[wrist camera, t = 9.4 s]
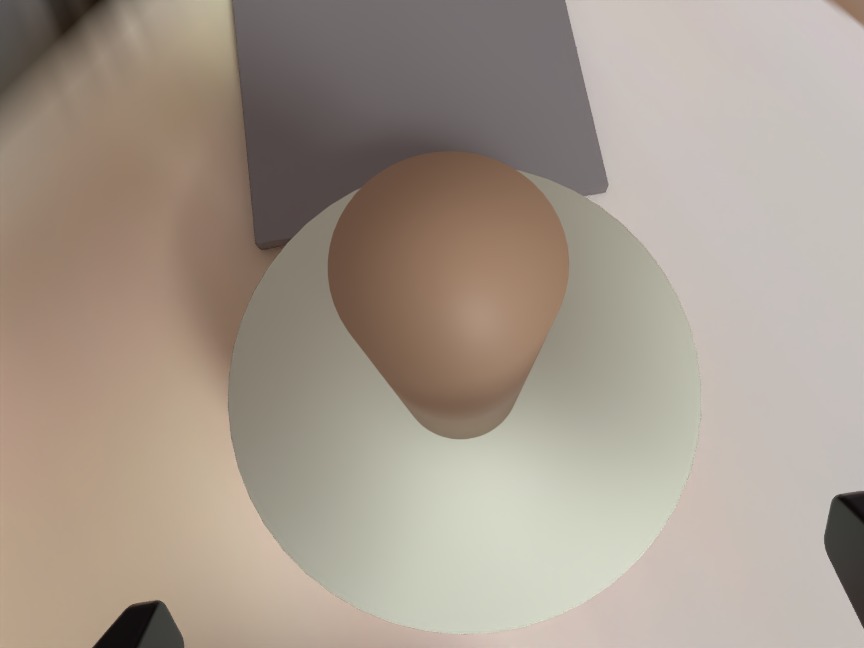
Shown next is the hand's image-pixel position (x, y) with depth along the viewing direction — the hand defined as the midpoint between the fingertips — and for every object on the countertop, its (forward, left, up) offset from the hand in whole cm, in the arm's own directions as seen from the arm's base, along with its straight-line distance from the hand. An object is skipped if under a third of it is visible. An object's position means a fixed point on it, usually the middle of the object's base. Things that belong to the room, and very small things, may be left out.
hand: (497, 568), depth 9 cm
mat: (+10, +14, -13) cm, 22 cm away
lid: (+2, +3, -8) cm, 9 cm away
